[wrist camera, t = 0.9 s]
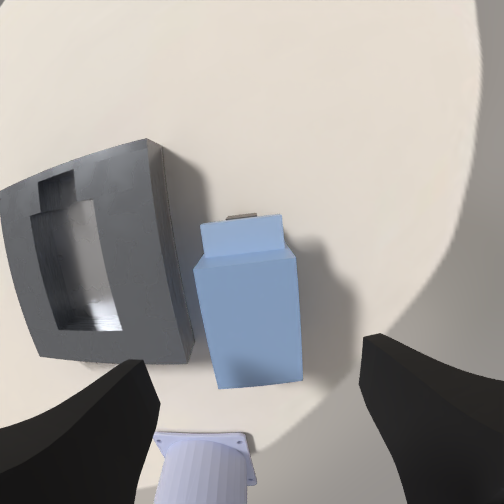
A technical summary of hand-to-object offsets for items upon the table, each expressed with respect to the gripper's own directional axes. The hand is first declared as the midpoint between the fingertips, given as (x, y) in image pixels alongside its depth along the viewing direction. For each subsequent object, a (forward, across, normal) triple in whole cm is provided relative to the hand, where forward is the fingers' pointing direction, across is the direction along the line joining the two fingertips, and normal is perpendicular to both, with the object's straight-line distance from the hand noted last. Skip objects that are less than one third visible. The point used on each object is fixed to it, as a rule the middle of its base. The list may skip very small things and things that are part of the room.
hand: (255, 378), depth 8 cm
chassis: (+8, +10, -3) cm, 13 cm away
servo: (+8, 0, 0) cm, 8 cm away
